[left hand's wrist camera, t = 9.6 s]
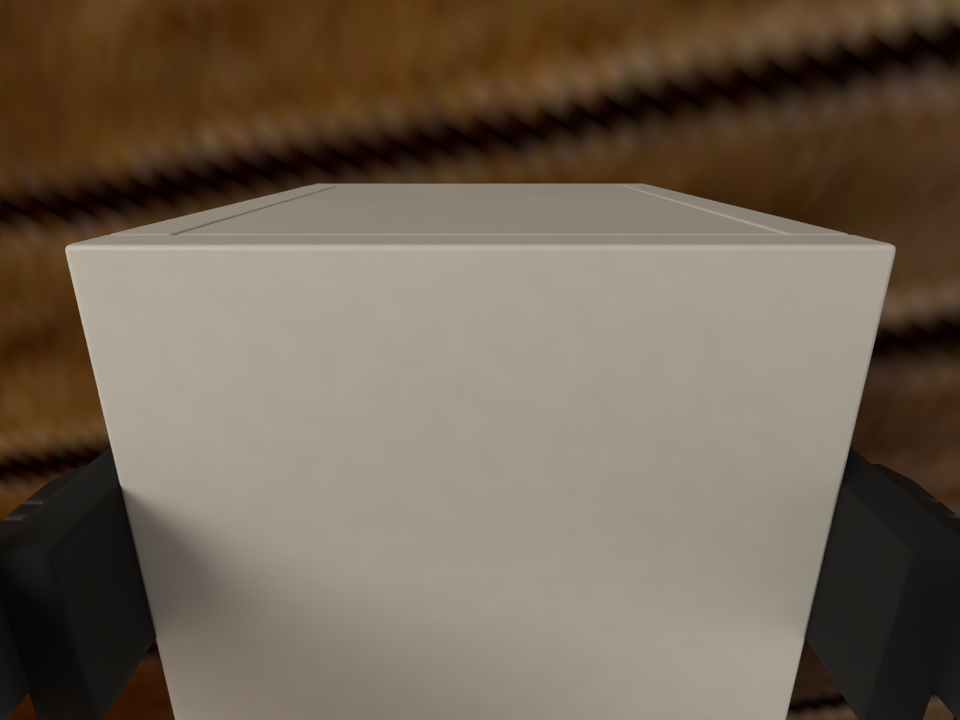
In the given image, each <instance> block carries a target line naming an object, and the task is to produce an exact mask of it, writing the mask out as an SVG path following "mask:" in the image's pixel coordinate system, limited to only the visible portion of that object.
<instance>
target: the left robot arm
mask: <svg viewBox="0 0 960 720" xmlns="http://www.w3.org/2000/svg"><path fill="white" fill-rule="evenodd" d="M155 638H156V635H155V631H154V627H153V622H152V618H151V614H150V610H149V605H148V601H147V597H146V593H145V588H144V584H143V580H142V575H141V571H140V567H139V563H138V558H137V554H136V550H135V546H134V541H133V537H132V533H131V529H130V524H129V520H128V516H127V512H126V507H125V503H124V499H123V494H122V490H121V486H120V482H119V477H118V473H117V469H116V465H115V460H114V456H113V452H112V448H111V447H110V448H108V449H107V450H106V451H105V452H103V453H102V454H101V455H100V456H99V457H97V458H96V459H95V460H94V461H93V462H91V463H90V464H89V465H88V466H81V467H79V468H77V469H75V470H73V471H71V472H69V473H67V474H65V475H63V476H60V477H58V478H56V479H54V480H52V481H50V482H49V483H47V484H46V485H45V486H44V487H42V488H41V489H40V490H39V491H37V492H36V493H35V494H34V495H32V496H31V497H30V498H28V499H27V500H26V503H25V505H20V506H18V507H17V508H16V509H15V510H13V511H12V512H11V513H10V514H8V515H7V516H6V519H5V521H0V720H7V718H8V717H9V716H10V715H11V713H12V712H13V711H14V710H15V709H16V707H17V706H18V705H19V704H20V703H21V701H22V700H23V699H24V698H25V696H26V695H27V694H28V693H29V694H30V697H31V700H32V703H33V706H34V709H35V712H36V715H37V717H38V720H102V719H103V718H104V716H105V714H106V713H107V711H108V710H109V708H110V707H111V705H112V704H113V702H114V701H115V699H116V698H117V696H118V695H119V693H120V692H121V690H122V688H123V687H124V685H125V684H126V682H127V681H128V679H129V678H130V676H131V675H132V673H133V672H134V670H135V669H136V667H137V665H138V664H139V662H140V661H141V659H142V658H143V656H144V655H145V653H146V652H147V650H148V649H149V647H150V646H151V644H152V643H153V641H154V639H155ZM805 638H806V640H807V641H808V643H809V645H810V646H811V648H812V649H813V651H814V652H815V654H816V655H817V657H818V658H819V660H820V661H821V663H822V664H823V666H824V668H825V669H826V671H827V672H828V674H829V675H830V677H831V678H832V680H833V681H834V683H835V684H836V686H837V687H838V689H839V690H840V692H841V694H842V695H843V697H844V698H845V700H846V701H847V703H848V704H849V706H850V707H851V709H852V710H853V712H854V713H855V715H856V716H857V718H858V720H923V717H924V714H925V711H926V708H927V705H928V703H929V700H930V697H931V694H932V691H934V692H935V693H936V695H937V696H938V697H939V698H940V699H941V701H942V702H943V703H944V704H945V705H946V707H947V708H948V709H949V710H950V712H951V713H952V714H953V715H954V718H953V720H960V519H957V518H956V514H955V513H954V512H952V511H951V510H950V509H949V508H947V507H946V506H945V505H943V504H942V503H941V502H936V498H935V497H933V496H932V495H931V494H929V493H928V492H927V491H926V490H924V489H923V488H922V487H920V486H919V485H918V484H917V483H915V482H914V481H913V480H911V479H909V478H907V477H905V476H903V475H901V474H899V473H897V472H895V471H893V470H891V469H889V468H887V467H885V466H883V465H881V464H871V463H869V462H868V461H867V460H866V459H865V458H863V457H862V456H861V455H860V454H858V453H857V452H856V451H855V450H854V449H852V448H851V447H850V448H849V452H848V456H847V461H846V465H845V469H844V474H843V478H842V482H841V486H840V491H839V495H838V499H837V503H836V508H835V512H834V516H833V520H832V525H831V529H830V533H829V537H828V542H827V546H826V550H825V554H824V559H823V563H822V567H821V571H820V576H819V580H818V584H817V588H816V593H815V597H814V601H813V606H812V610H811V614H810V618H809V623H808V627H807V631H806V635H805Z"/></svg>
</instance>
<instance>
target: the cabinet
mask: <svg viewBox="0 0 960 720" xmlns="http://www.w3.org/2000/svg"><path fill="white" fill-rule="evenodd" d="M65 252H66V256H67V260H68V264H69V269H70V273H71V277H72V281H73V286H74V290H75V294H76V298H77V303H78V307H79V311H80V315H81V320H82V324H83V328H84V333H85V337H86V341H87V345H88V350H89V354H90V358H91V362H92V367H93V371H94V375H95V379H96V384H97V388H98V392H99V396H100V401H101V405H102V409H103V413H104V418H105V422H106V426H107V431H108V435H109V439H110V443H111V448H112V452H113V456H114V460H115V465H116V469H117V473H118V477H119V482H120V486H121V490H122V494H123V499H124V503H125V507H126V512H127V516H128V520H129V524H130V529H131V533H132V537H133V541H134V546H135V550H136V554H137V558H138V563H139V567H140V571H141V575H142V580H143V584H144V588H145V593H146V597H147V601H148V605H149V610H150V614H151V618H152V622H153V627H154V631H155V635H156V639H157V644H158V648H159V652H160V656H161V661H162V665H163V669H164V674H165V678H166V682H167V686H168V691H169V695H170V699H171V703H172V708H173V712H174V716H175V720H786V716H787V712H788V708H789V703H790V699H791V695H792V691H793V686H794V682H795V678H796V674H797V669H798V665H799V661H800V657H801V652H802V648H803V644H804V640H805V635H806V631H807V627H808V623H809V618H810V614H811V610H812V606H813V601H814V597H815V593H816V588H817V584H818V580H819V576H820V571H821V567H822V563H823V559H824V554H825V550H826V546H827V542H828V537H829V533H830V529H831V525H832V520H833V516H834V512H835V508H836V503H837V499H838V495H839V491H840V486H841V482H842V478H843V474H844V469H845V465H846V461H847V456H848V452H849V448H850V444H851V439H852V435H853V431H854V427H855V422H856V418H857V414H858V410H859V405H860V401H861V397H862V393H863V388H864V384H865V380H866V376H867V371H868V367H869V363H870V359H871V354H872V350H873V346H874V341H875V337H876V333H877V329H878V324H879V320H880V316H881V312H882V307H883V303H884V299H885V295H886V290H887V286H888V282H889V278H890V273H891V269H892V265H893V261H894V256H895V252H896V249H895V246H893V245H891V244H888V243H884V242H880V241H876V240H872V239H868V238H864V237H860V236H856V235H848V234H846V233H842V232H838V231H834V230H830V229H826V228H822V227H818V226H814V225H810V224H806V223H802V222H798V221H794V220H789V219H785V218H781V217H777V216H773V215H769V214H765V213H761V212H757V211H753V210H749V209H745V208H741V207H736V206H732V205H728V204H724V203H720V202H716V201H712V200H708V199H704V198H700V197H696V196H692V195H687V194H683V193H679V192H675V191H671V190H667V189H663V188H659V187H655V186H650V185H646V184H315V185H311V186H305V187H301V188H297V189H293V190H289V191H285V192H281V193H277V194H273V195H269V196H264V197H260V198H256V199H252V200H248V201H244V202H240V203H236V204H232V205H228V206H224V207H219V208H215V209H211V210H207V211H203V212H199V213H195V214H191V215H187V216H183V217H179V218H174V219H170V220H166V221H162V222H158V223H154V224H150V225H146V226H142V227H138V228H133V229H129V230H125V231H121V232H117V233H113V234H110V235H106V236H102V237H98V238H93V239H89V240H85V241H81V242H77V243H73V244H70V245H68V246H67V247H66V250H65Z"/></svg>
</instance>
